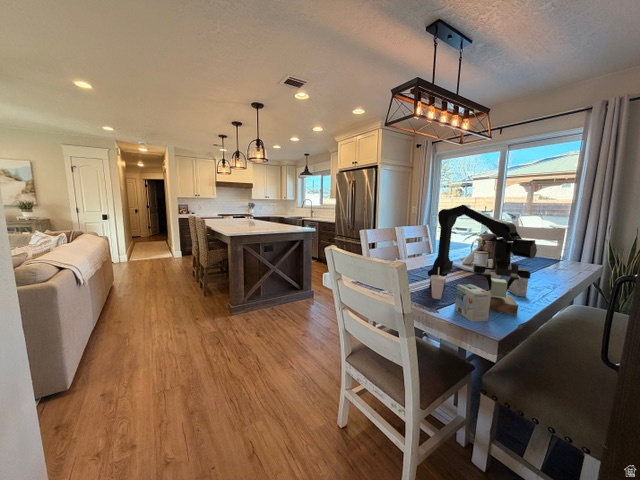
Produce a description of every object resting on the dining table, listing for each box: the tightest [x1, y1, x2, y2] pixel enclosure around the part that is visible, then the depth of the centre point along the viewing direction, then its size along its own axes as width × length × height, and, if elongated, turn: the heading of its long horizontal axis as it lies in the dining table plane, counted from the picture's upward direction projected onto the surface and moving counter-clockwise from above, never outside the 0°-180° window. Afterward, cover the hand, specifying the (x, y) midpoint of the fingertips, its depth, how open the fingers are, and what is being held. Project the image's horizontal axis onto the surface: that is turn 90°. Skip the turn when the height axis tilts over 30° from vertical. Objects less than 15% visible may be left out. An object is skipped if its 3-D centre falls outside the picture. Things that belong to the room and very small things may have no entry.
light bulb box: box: [454, 283, 491, 322], centre depth 98 cm, size 11×7×11 cm, turn 5°
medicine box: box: [507, 276, 529, 297], centre depth 124 cm, size 8×4×9 cm, turn 168°
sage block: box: [488, 278, 508, 298], centre depth 106 cm, size 5×5×6 cm
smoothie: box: [430, 267, 447, 300], centre depth 116 cm, size 6×6×14 cm
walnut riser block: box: [489, 294, 519, 316], centre depth 107 cm, size 12×12×4 cm
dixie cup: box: [487, 258, 502, 279], centre depth 151 cm, size 8×8×10 cm
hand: (497, 290), depth 106 cm, fingers closed on sage block, 5 cm apart
